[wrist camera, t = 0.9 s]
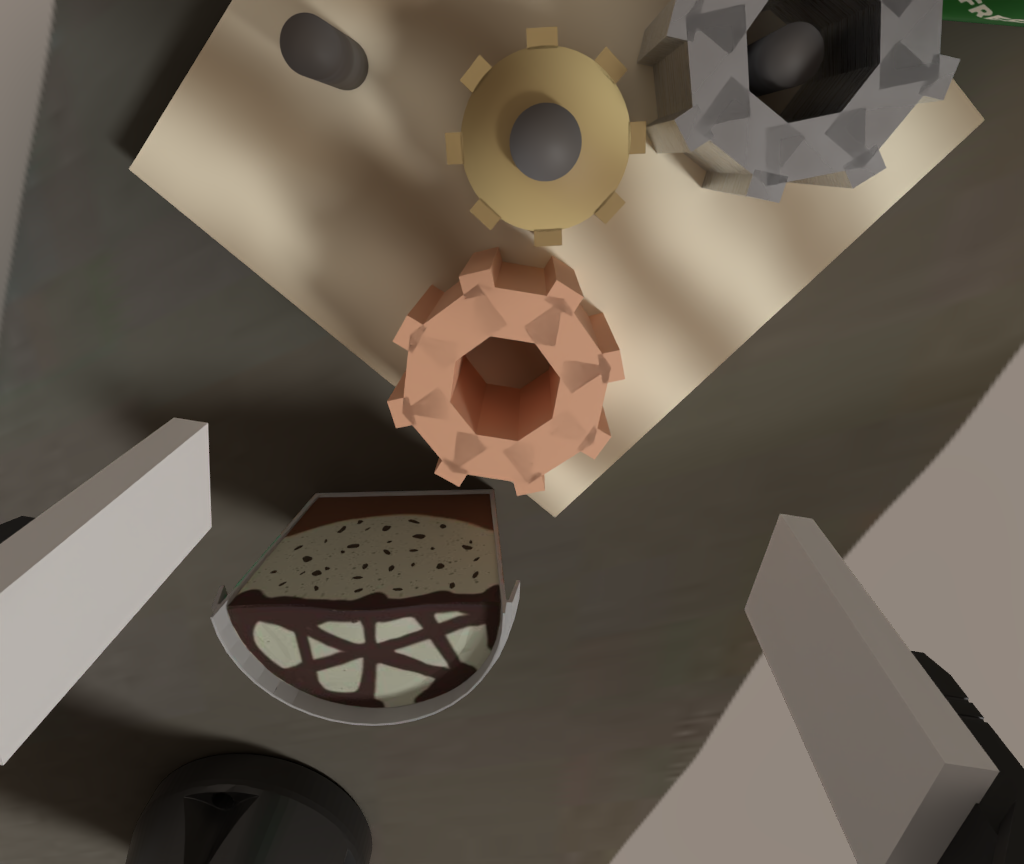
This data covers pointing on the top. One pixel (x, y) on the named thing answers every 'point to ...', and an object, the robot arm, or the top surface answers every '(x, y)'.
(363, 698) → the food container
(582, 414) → the planet gear
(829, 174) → the seated gear
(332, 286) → the carrier
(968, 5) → the milk carton
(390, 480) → the top surface
